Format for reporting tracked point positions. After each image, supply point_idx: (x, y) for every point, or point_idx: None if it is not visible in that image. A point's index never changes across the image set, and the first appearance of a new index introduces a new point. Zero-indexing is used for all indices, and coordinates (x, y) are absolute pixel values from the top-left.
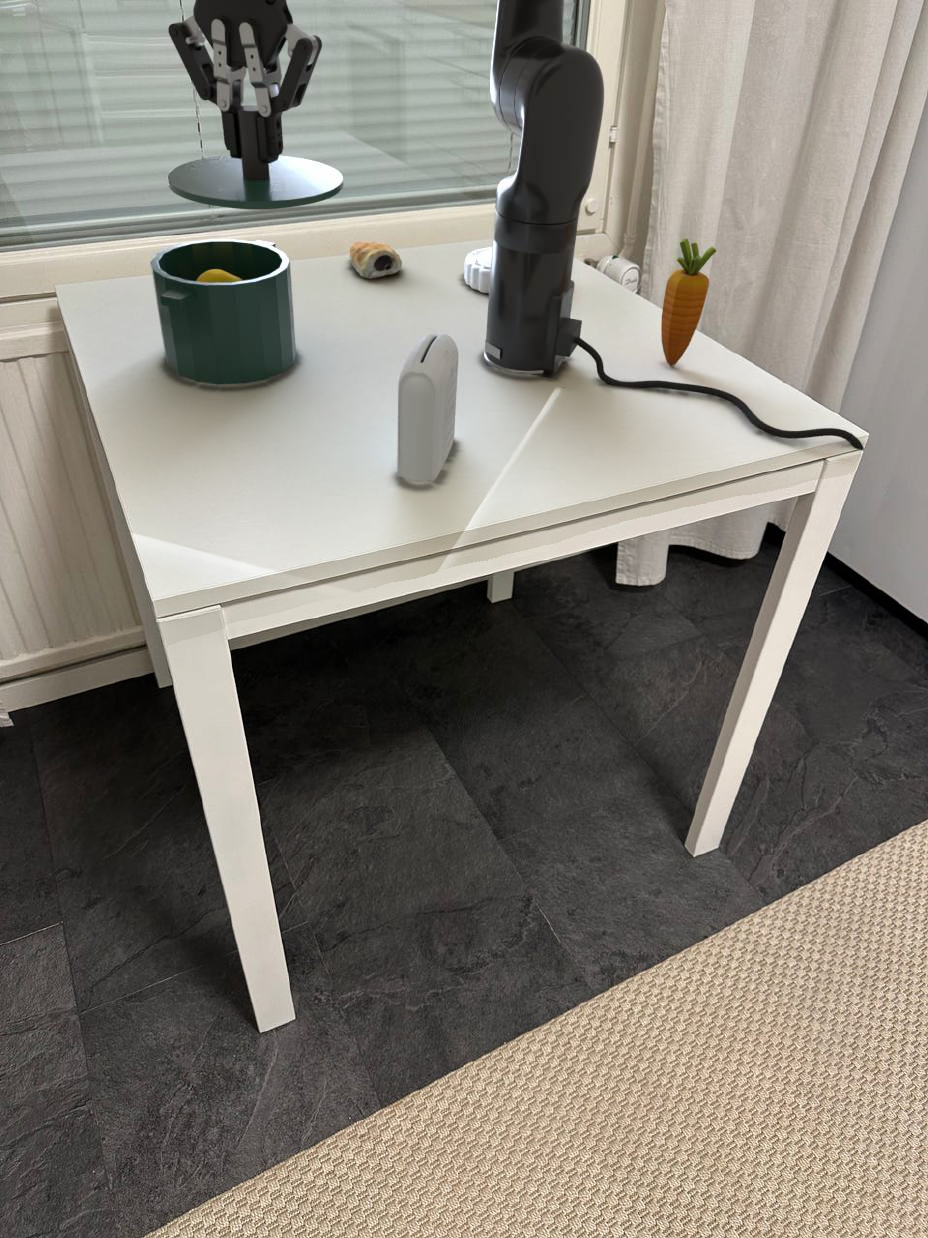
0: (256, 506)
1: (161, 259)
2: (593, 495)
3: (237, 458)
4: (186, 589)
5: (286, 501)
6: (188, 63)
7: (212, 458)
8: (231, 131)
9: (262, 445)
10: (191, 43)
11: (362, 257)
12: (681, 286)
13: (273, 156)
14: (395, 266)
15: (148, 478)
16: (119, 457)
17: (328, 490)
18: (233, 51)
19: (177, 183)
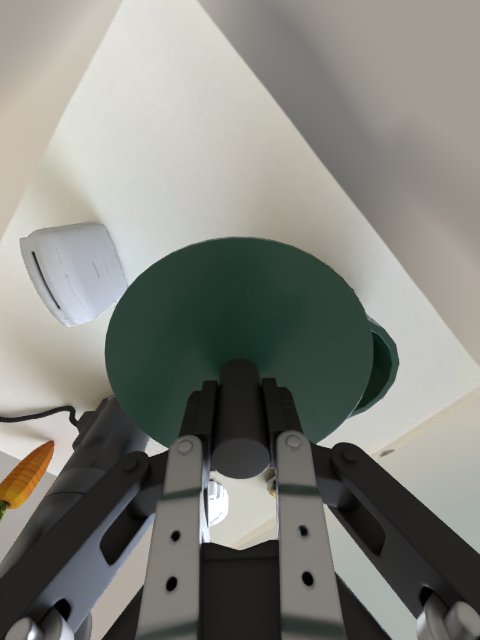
0: (171, 134)
1: (389, 356)
2: None
3: (226, 197)
4: None
5: (156, 154)
6: (424, 523)
7: (243, 188)
8: (273, 404)
9: (220, 225)
10: (450, 606)
11: None
12: (6, 488)
13: (195, 391)
14: (269, 484)
15: (271, 131)
16: (310, 152)
17: (139, 186)
18: (263, 598)
19: (328, 281)
